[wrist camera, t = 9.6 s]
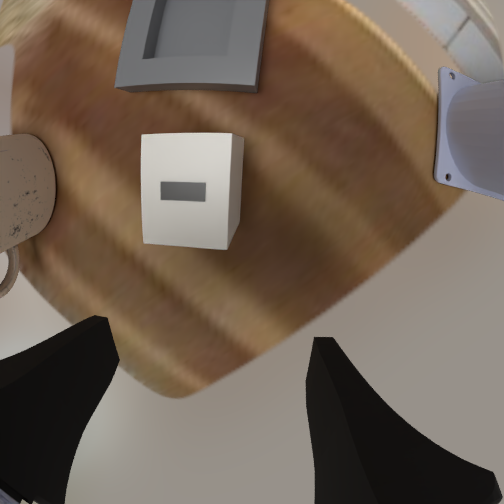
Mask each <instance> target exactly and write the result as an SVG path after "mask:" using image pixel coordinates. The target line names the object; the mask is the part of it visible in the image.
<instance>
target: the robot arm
mask: <svg viewBox="0 0 504 504" xmlns="http://www.w3.org/2000/svg"><path fill="white" fill-rule="evenodd" d="M449 74H451V75H452V79H451V77H450V75H449ZM438 86H439V112H438V136H437V150H436V161H435V170H434V178H435V180H436V181H437V182H438V183H442V184H446V185H450V186H454V187H458V188H462V189H465V190H469V191H473V192H476V193H480V194H483V195H487V196H490V197H493V198H497V199H500V200H503V201H504V80H499V81H493V82H488V83H482V84H481V83H480V82H478V81H476V80H474V79H472V78H469V77H467V76H465V75H463V74H461V73H459V72H456V71H454V70H452V69H450V68H447V67H441V68H439V70H438ZM446 174H448V179H447V180H446V178H445V176H446ZM119 361H120V359H119V356H118V353H117V350H116V346H115V343H114V340H113V336H112V333H111V329H110V325H109V322H108V318H107V317H101V316H96V315H94V316H92V317H89V318H87V319H85V320H83V321H81V322H79V323H77V324H75V325H73V326H71V327H69V328H67V329H65V330H64V331H62V332H60V333H58V334H56V335H54V336H52V337H51V338H49V339H47V340H45V341H43V342H41V343H39V344H37V345H35V346H33V347H31V348H29V349H27V350H24V351H22V352H20V353H18V354H15V355H13V356H10V357H7V358H5V359H2V360H0V504H20V503H21V501H22V499H23V500H25V501H26V502H27V503H29V504H32V503H33V501H35V502H36V503H38V504H64V503H65V496H66V495H65V494H66V488H67V483H68V479H69V474H70V470H71V466H72V463H73V459H74V456H75V453H76V450H77V447H78V444H79V442H80V439H81V437H82V434H83V432H84V430H85V427H86V425H87V423H88V422H89V420H90V418H91V416H92V414H93V413H94V411H95V409H96V407H97V406H98V404H99V402H100V400H101V399H102V397H103V395H104V393H105V392H106V390H107V388H108V386H109V385H110V383H111V381H112V378H113V376H114V374H115V371H116V368H117V366H118V363H119ZM306 407H307V415H308V422H309V429H310V436H311V443H312V450H313V458H314V467H315V504H498V503H499V502H500V501H501V499H502V494H501V491H500V488H499V485H498V483H497V480H496V477H495V475H494V473H493V472H492V471H489V470H487V469H484V468H482V467H479V466H477V465H474V464H472V463H470V462H468V461H465V460H463V459H461V458H460V457H457V456H456V455H454V454H452V453H450V452H449V451H447V450H445V449H443V448H442V447H440V446H439V445H437V444H435V443H434V442H433V441H431V440H430V439H428V438H427V437H426V436H424V435H423V434H421V433H420V432H418V431H417V430H416V429H415V428H413V427H412V426H411V425H410V424H408V423H407V422H406V421H405V420H404V419H403V418H402V417H400V416H399V415H398V414H397V413H396V412H395V411H394V410H393V409H392V408H391V407H390V406H389V405H387V403H386V402H385V401H384V400H383V399H382V398H381V397H380V396H379V395H378V394H377V393H376V392H375V391H374V389H373V388H372V387H371V386H370V385H369V384H368V382H367V381H366V380H365V379H364V378H363V377H362V375H361V374H360V373H359V371H358V370H357V369H356V368H355V366H354V365H353V364H352V363H351V361H350V360H349V359H348V357H347V356H346V354H345V353H344V352H343V350H342V349H341V348H340V346H339V345H338V343H337V342H336V341H335V339H334V338H333V337H314V341H313V346H312V352H311V357H310V362H309V367H308V372H307V377H306Z"/></svg>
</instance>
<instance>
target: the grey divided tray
mask: <svg viewBox="0 0 504 504" xmlns="http://www.w3.org/2000/svg"><path fill="white" fill-rule="evenodd" d="M268 6H269V0H133V3H132V6H131V10H130V13H129V17H128V21H127V25H126V29H125V33H124V38H123V42H122V47H121V52H120V57H119V62H118V68H117V74H116V80H115V87H114V88H118V89H121V90H125V91H128V92H141V91H159V90H219V91H237V92H250V93H257V90H258V82H259V74H260V66H261V58H262V51H263V43H264V35H265V28H266V20H267V13H268Z"/></svg>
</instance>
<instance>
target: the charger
mask: <svg viewBox="0 0 504 504" xmlns="http://www.w3.org/2000/svg"><path fill="white" fill-rule="evenodd" d="M243 152H244V138H243V137H240V136H238V135H235V134H233V133H166V134H146V135H142V140H141V205H142V228H143V243H146V244H158V245H171V246H183V247H195V248H208V249H220V250H227V249H228V247H229V245H230V242H231V240H232V238H233V236H234V234H235V231H236V229H237V227H238V225H239V223H240V208H241V188H242V170H243Z"/></svg>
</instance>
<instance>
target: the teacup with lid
mask: <svg viewBox="0 0 504 504" xmlns="http://www.w3.org/2000/svg"><path fill="white" fill-rule="evenodd" d="M55 193H56V183H55V173H54V168H53V164H52V161H51V158H50V155H49V153H48V151H47V149H46V147H45V146H44V144H43V143H42V142H41V141H40V140H39V139H38V138H36V137H35V136H33V135H30V134H16V135H6V136H0V253H2V252H4V251H6V250H7V251H8V258H9V265H8V270H7V274H6V276H5V278H4V280H3V281H2V283H1V284H0V298H2V297H3V296H5V295H6V294H7V293H8V292H9V291H10V289H11V288H12V287H13V285H14V283H15V281H16V278H17V275H18V272H19V264H20V260H19V251H18V245H17V244H19V243H21V242H23V241H24V240H26V239H28V238H30V237H32V236H34V235H36V234H38V233H39V232H41V231H42V230H43V229H44V227H45V226H46V225H47V223H48V221H49V219H50V217H51V214H52V211H53V207H54V202H55Z"/></svg>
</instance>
